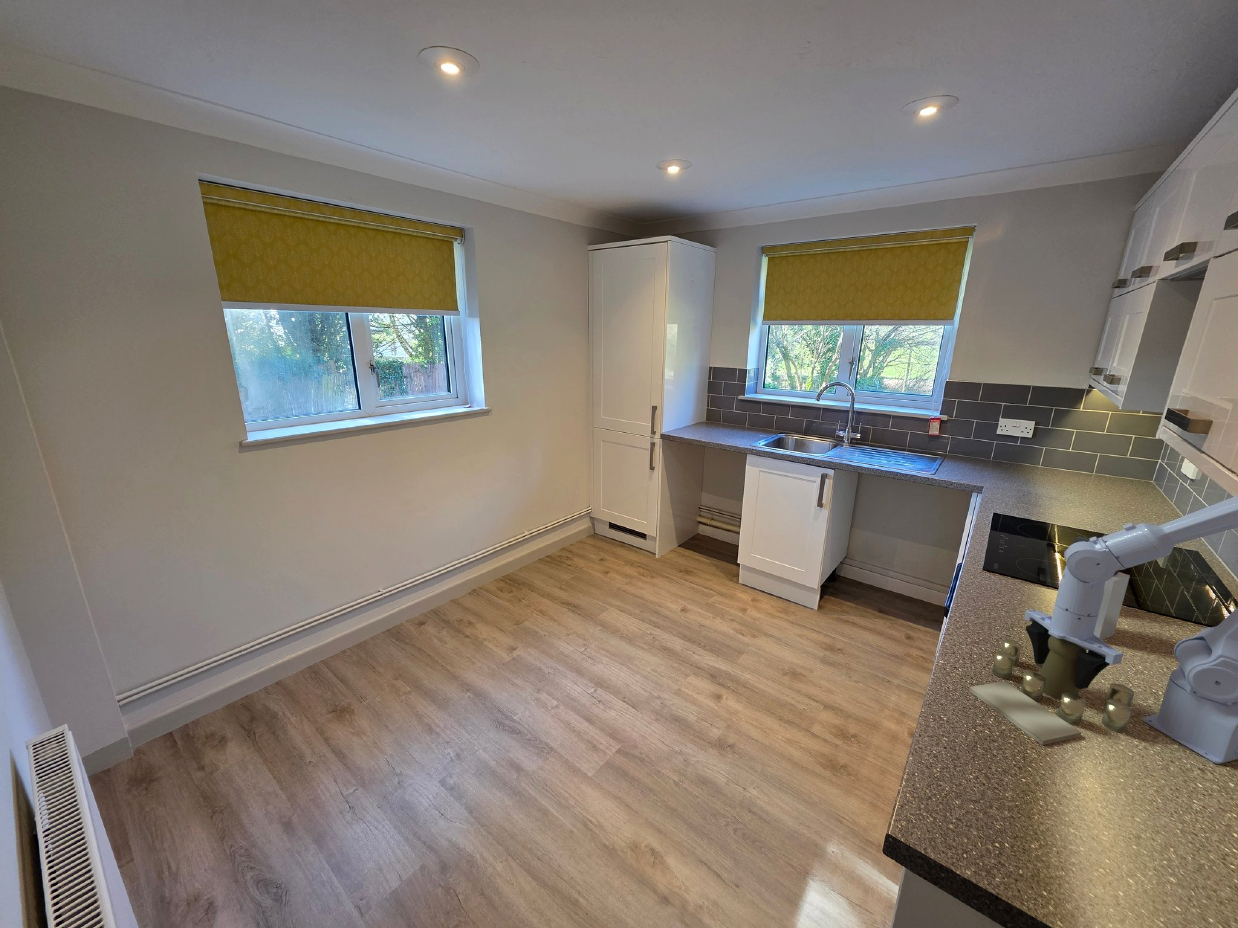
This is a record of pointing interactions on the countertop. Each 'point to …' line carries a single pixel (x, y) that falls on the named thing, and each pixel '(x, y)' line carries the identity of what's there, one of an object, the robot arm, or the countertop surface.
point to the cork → (1061, 667)
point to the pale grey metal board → (1025, 712)
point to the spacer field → (1070, 704)
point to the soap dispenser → (1110, 602)
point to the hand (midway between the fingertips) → (1060, 674)
